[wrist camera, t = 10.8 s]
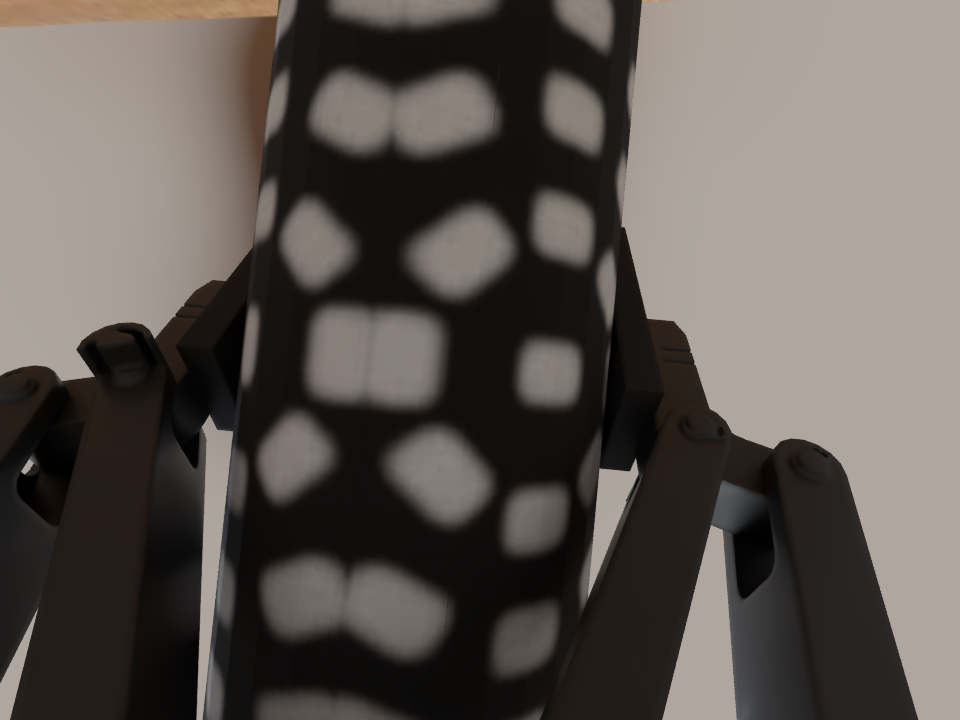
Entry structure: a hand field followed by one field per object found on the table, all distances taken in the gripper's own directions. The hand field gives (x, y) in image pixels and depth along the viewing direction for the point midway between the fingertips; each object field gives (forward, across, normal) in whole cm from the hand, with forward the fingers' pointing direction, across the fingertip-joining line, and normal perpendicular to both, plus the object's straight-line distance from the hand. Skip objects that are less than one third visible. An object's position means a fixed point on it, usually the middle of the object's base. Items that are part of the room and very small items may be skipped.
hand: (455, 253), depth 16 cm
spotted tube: (+4, 0, +9) cm, 9 cm away
